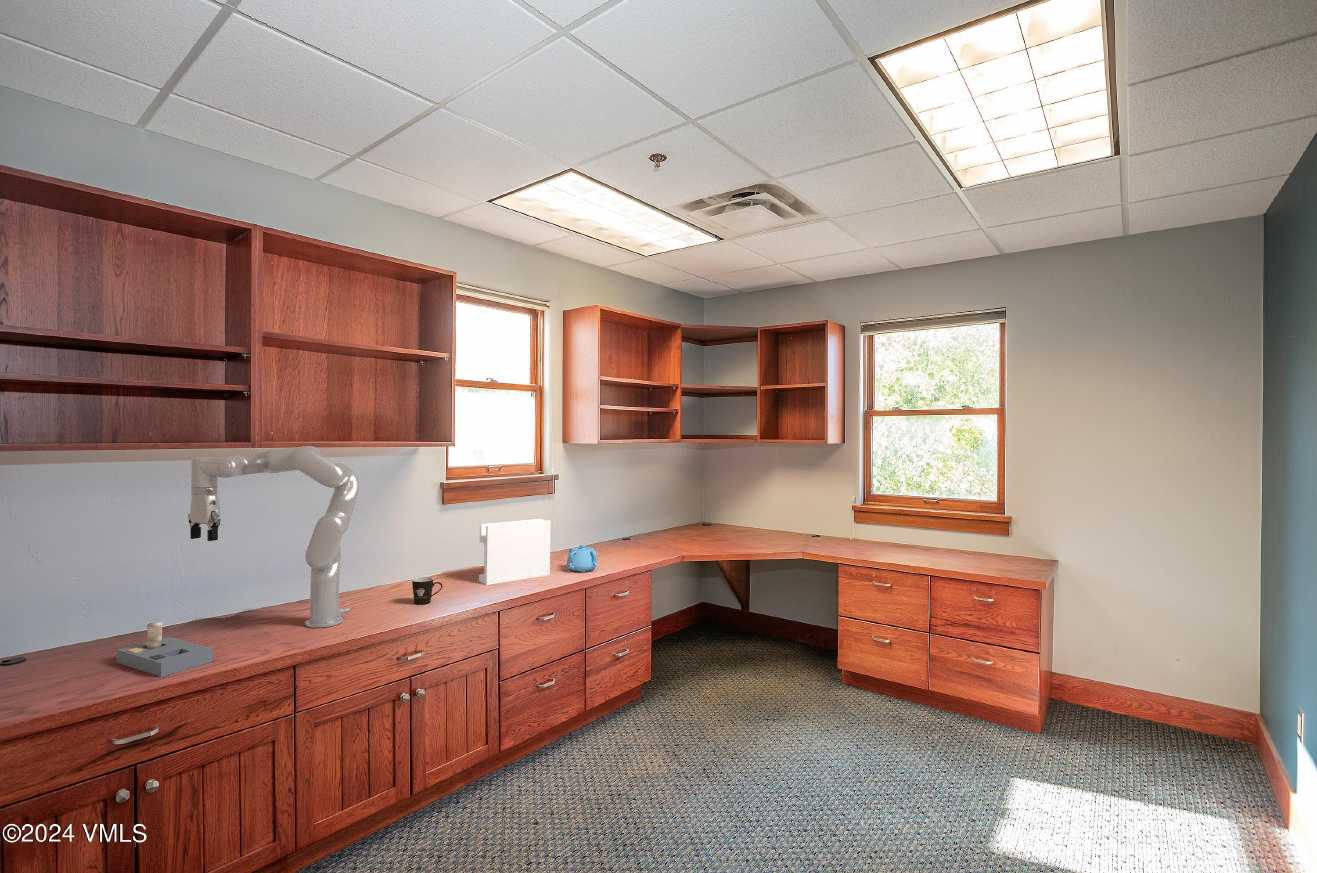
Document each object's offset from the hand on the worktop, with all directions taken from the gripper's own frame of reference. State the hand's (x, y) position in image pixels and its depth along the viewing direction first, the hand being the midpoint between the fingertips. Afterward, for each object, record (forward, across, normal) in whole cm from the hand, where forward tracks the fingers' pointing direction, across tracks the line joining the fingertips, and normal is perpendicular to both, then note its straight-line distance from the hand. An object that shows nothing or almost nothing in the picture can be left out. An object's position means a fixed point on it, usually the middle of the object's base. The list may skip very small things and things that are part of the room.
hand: (204, 539), depth 223 cm
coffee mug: (+33, -42, -63) cm, 83 cm away
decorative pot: (+34, -67, -150) cm, 167 cm away
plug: (+32, -15, +23) cm, 42 cm away
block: (+34, -47, -118) cm, 132 cm away
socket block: (+33, -21, +24) cm, 46 cm away
